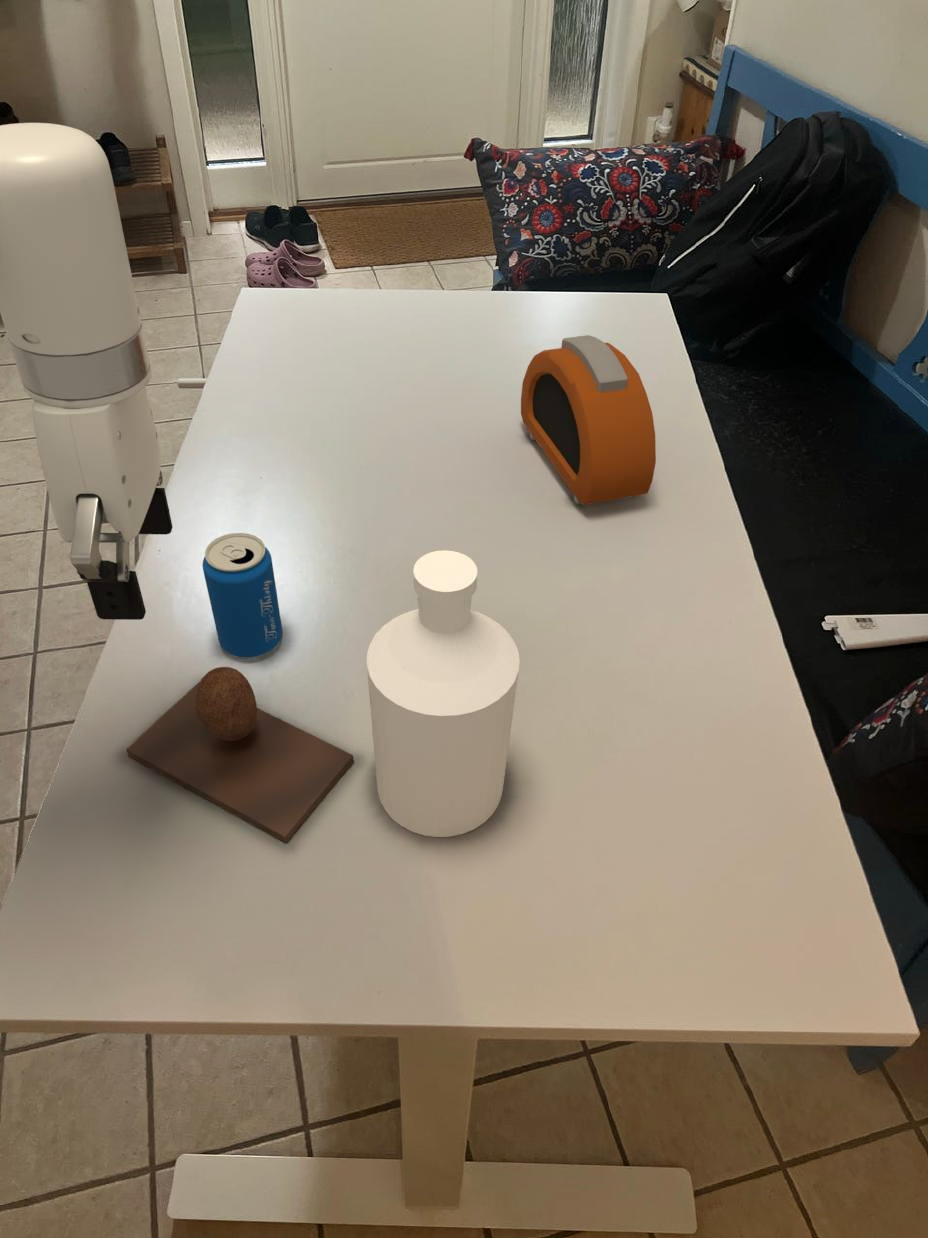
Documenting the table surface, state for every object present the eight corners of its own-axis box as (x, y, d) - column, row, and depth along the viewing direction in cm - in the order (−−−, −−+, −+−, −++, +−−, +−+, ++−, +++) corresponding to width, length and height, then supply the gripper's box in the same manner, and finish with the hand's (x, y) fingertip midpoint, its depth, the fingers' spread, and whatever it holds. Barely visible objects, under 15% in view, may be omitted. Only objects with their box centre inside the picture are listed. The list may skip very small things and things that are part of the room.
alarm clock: (516, 425, 125) (525, 310, 114) (574, 416, 127) (589, 303, 116) (583, 522, 109) (602, 400, 98) (649, 510, 111) (674, 389, 100)
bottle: (427, 712, 86) (428, 501, 69) (530, 771, 81) (560, 560, 64) (346, 794, 79) (326, 581, 62) (455, 864, 74) (466, 654, 57)
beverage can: (254, 672, 89) (237, 581, 81) (206, 647, 91) (185, 556, 83) (296, 634, 93) (283, 545, 85) (249, 611, 95) (232, 522, 87)
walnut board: (128, 756, 81) (125, 749, 80) (202, 686, 87) (201, 679, 87) (286, 843, 75) (285, 837, 74) (354, 761, 81) (353, 755, 81)
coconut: (272, 735, 82) (261, 675, 76) (223, 764, 79) (209, 705, 74) (241, 702, 85) (229, 643, 79) (194, 729, 82) (177, 670, 77)
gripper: (60, 295, 60) (114, 503, 72) (-32, 429, 47) (51, 655, 59) (173, 299, 61) (208, 504, 72) (112, 432, 48) (166, 655, 60)
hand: (138, 572), depth 66 cm, fingers open, 9 cm apart
